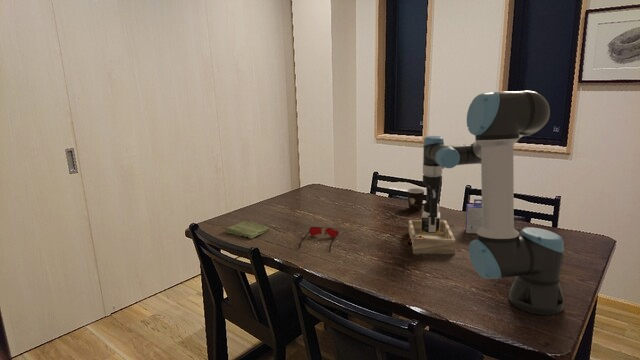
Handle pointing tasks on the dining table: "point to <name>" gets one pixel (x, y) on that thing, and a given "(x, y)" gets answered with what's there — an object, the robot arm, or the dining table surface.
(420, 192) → the coffee mug
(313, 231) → the glasses
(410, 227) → the birch box
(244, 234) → the washcloth
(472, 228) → the ink cartridge box
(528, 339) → the dining table surface
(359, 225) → the dining table surface
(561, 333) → the dining table surface
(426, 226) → the medicine bottle
